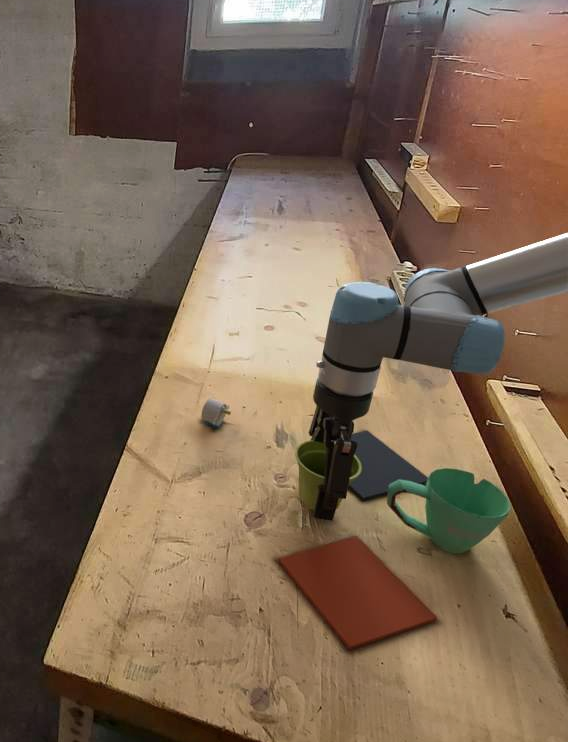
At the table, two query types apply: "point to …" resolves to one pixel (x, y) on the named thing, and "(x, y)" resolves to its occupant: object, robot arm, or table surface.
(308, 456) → the plant pot
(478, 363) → the robot arm
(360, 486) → the charcoal mat
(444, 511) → the mug
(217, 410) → the electric motor
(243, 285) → the table surface
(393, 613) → the terracotta mat
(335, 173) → the table surface
